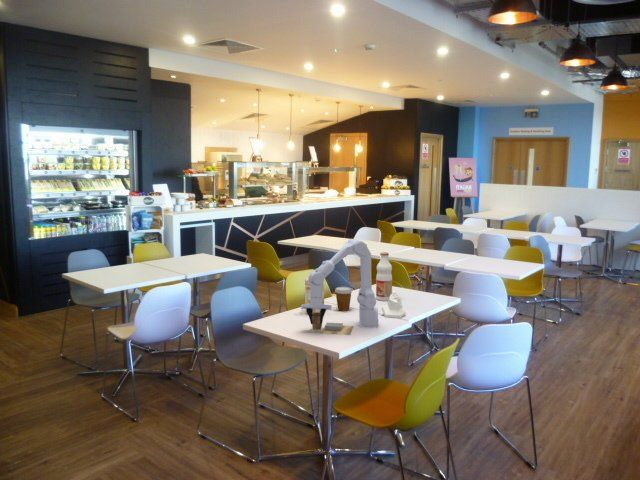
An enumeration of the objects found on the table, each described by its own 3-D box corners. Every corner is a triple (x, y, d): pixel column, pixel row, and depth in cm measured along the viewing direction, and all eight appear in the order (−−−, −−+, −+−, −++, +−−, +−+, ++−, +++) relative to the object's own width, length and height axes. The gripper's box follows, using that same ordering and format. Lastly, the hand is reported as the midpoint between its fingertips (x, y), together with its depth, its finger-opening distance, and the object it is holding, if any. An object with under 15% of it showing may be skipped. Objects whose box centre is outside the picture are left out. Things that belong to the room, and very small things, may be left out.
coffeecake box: (317, 315, 285) (317, 279, 282) (304, 314, 287) (304, 279, 284) (324, 308, 299) (324, 274, 296) (312, 307, 301) (312, 273, 298)
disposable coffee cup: (354, 310, 293) (355, 289, 292) (339, 312, 290) (339, 291, 288) (347, 306, 302) (347, 285, 300) (332, 308, 299) (332, 287, 297)
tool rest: (322, 329, 260) (322, 328, 260) (320, 332, 256) (320, 332, 255) (312, 329, 261) (312, 328, 261) (310, 332, 256) (310, 331, 256)
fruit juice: (392, 301, 313) (392, 254, 309) (376, 301, 314) (376, 254, 310) (391, 297, 322) (392, 251, 318) (375, 297, 323) (376, 251, 319)
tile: (342, 323, 262) (341, 326, 256) (342, 327, 263) (341, 331, 257) (326, 322, 264) (324, 326, 258) (326, 326, 264) (324, 330, 258)
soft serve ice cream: (409, 315, 288) (415, 292, 283) (395, 324, 277) (400, 300, 272) (390, 306, 295) (395, 283, 290) (375, 314, 284) (380, 291, 279)
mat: (353, 326, 265) (353, 326, 265) (350, 335, 251) (350, 334, 251) (325, 325, 267) (325, 324, 267) (321, 334, 254) (321, 333, 253)
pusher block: (321, 325, 262) (321, 312, 259) (320, 329, 258) (320, 316, 255) (313, 325, 262) (313, 312, 260) (312, 329, 259) (311, 316, 256)
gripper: (332, 294, 259) (332, 321, 261) (303, 293, 261) (303, 320, 263) (330, 298, 252) (330, 326, 254) (300, 297, 254) (300, 324, 256)
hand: (316, 323), depth 258 cm, fingers closed on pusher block, 4 cm apart
